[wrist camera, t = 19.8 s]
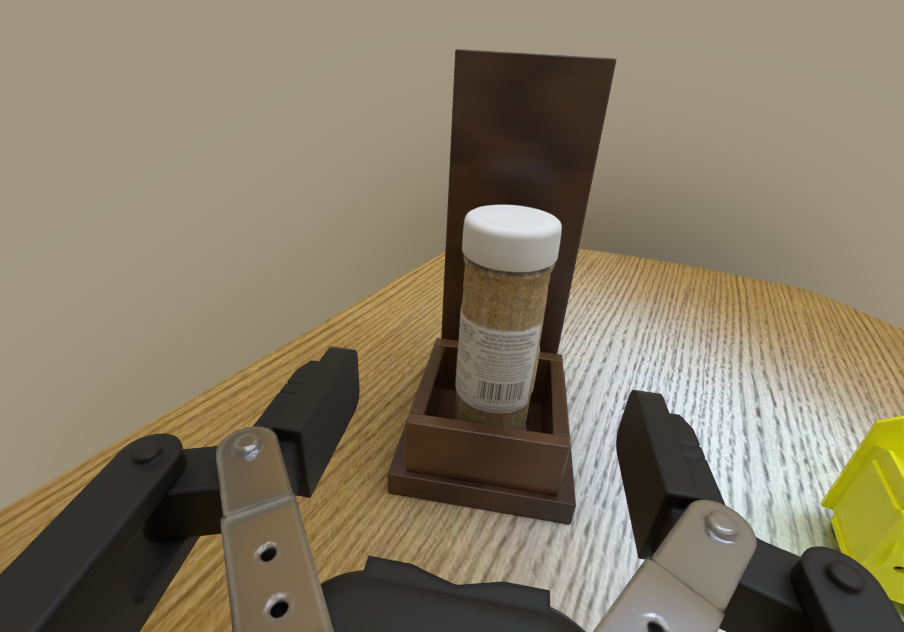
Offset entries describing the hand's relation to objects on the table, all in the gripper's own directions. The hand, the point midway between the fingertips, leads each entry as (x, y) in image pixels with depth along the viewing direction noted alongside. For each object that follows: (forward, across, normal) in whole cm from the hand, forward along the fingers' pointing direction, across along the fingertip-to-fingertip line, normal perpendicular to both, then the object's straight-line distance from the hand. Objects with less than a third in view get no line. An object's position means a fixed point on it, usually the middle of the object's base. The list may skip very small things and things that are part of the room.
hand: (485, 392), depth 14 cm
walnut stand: (+12, 0, +13) cm, 17 cm away
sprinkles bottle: (+10, 0, +11) cm, 15 cm away
